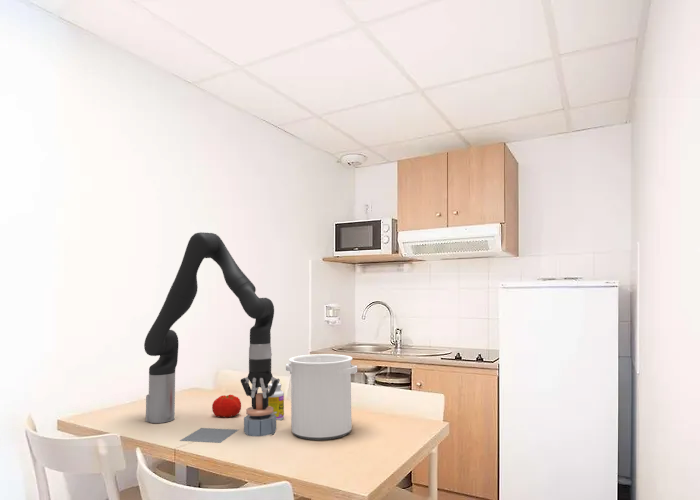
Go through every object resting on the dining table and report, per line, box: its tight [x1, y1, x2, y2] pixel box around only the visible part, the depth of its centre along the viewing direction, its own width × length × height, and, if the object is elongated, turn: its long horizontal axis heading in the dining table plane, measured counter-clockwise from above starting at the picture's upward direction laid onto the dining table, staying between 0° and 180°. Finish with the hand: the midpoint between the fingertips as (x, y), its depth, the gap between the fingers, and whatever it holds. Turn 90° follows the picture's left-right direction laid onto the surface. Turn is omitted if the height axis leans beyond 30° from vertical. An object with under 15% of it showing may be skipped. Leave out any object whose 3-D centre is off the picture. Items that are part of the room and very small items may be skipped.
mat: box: [179, 427, 239, 444], centre depth 158 cm, size 14×14×1 cm
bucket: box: [285, 353, 358, 441], centre depth 163 cm, size 26×22×24 cm
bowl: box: [243, 414, 277, 437], centre depth 161 cm, size 10×10×6 cm
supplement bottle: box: [268, 382, 285, 421], centre depth 178 cm, size 7×7×13 cm
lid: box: [245, 392, 273, 416], centre depth 162 cm, size 9×9×6 cm
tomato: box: [211, 394, 242, 419], centre depth 184 cm, size 11×11×8 cm
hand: (260, 408), depth 162 cm, fingers closed on lid, 2 cm apart
